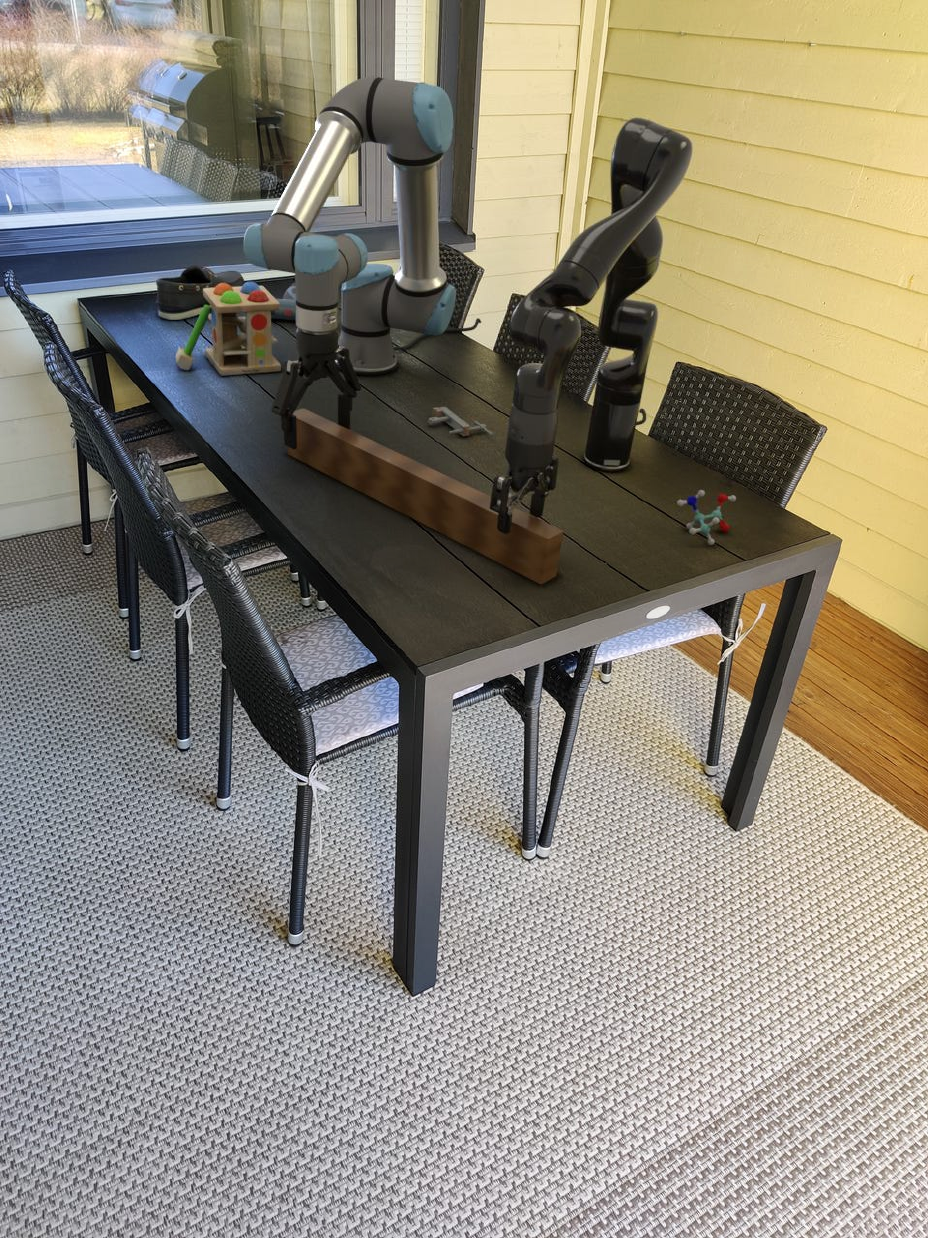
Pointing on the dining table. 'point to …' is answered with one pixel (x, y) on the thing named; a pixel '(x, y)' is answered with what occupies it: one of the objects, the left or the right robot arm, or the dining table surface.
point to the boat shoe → (190, 291)
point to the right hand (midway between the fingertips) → (519, 523)
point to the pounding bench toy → (229, 347)
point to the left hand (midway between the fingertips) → (317, 437)
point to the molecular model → (700, 517)
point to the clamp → (455, 422)
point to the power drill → (286, 305)
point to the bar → (427, 496)
